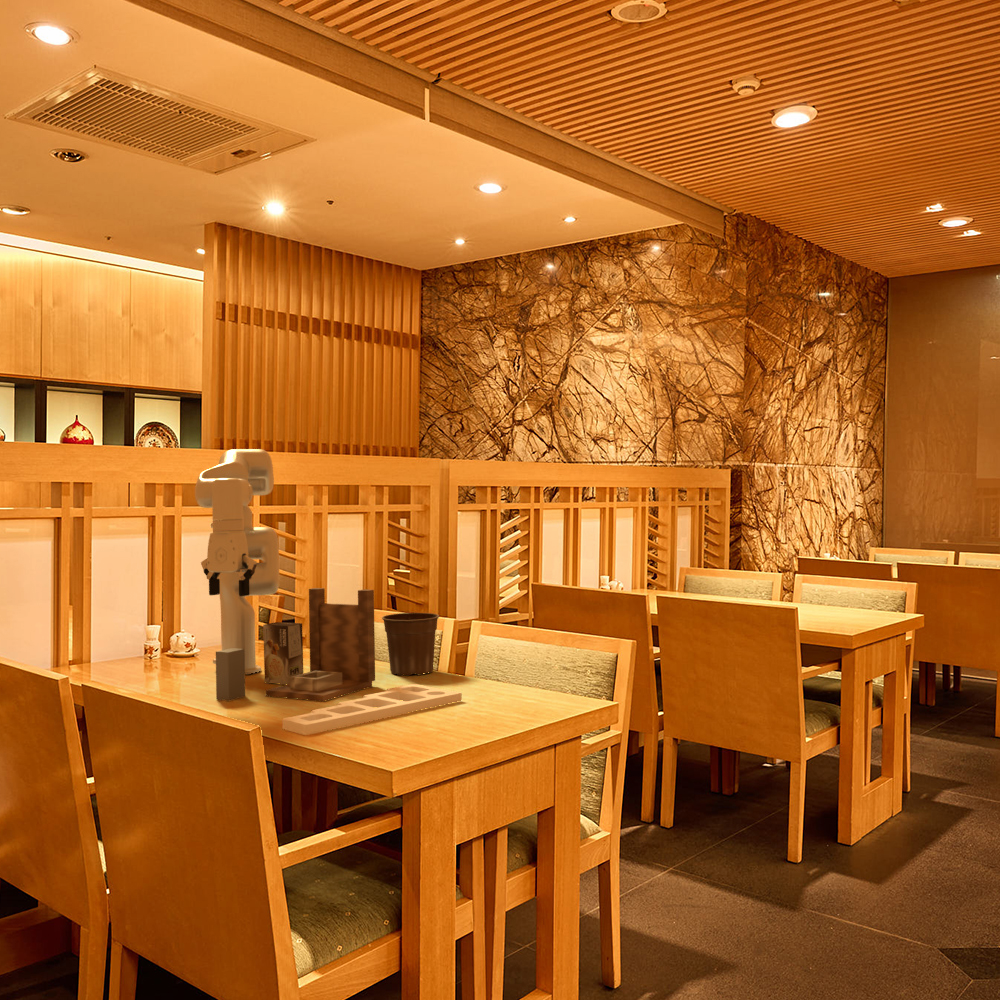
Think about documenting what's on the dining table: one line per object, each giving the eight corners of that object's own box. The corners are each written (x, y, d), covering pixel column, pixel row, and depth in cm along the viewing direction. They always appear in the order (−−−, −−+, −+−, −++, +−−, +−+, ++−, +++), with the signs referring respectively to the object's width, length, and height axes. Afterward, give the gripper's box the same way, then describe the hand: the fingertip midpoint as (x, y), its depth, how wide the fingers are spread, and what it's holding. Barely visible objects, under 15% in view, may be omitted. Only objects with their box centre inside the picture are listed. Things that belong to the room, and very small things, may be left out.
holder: (305, 737, 204) (305, 724, 204) (259, 725, 217) (259, 712, 217) (462, 703, 236) (462, 692, 236) (414, 694, 249) (414, 683, 249)
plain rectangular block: (216, 699, 244) (215, 651, 244) (233, 695, 249) (232, 648, 249) (228, 700, 242) (228, 652, 242) (245, 696, 247) (244, 649, 247)
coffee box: (305, 681, 266) (304, 622, 266) (289, 685, 261) (288, 625, 261) (278, 679, 271) (277, 621, 271) (263, 683, 265) (262, 624, 265)
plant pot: (421, 679, 267) (420, 620, 267) (372, 675, 274) (371, 618, 274) (450, 669, 282) (449, 613, 282) (402, 666, 289) (401, 611, 289)
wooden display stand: (264, 696, 247) (262, 595, 247) (317, 681, 266) (315, 588, 267) (325, 701, 239) (323, 597, 239) (375, 686, 258) (373, 589, 258)
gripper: (191, 528, 246) (192, 595, 246) (244, 527, 238) (245, 597, 238) (212, 527, 253) (213, 593, 252) (265, 526, 245) (266, 594, 245)
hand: (229, 595), depth 245 cm, fingers open, 9 cm apart
